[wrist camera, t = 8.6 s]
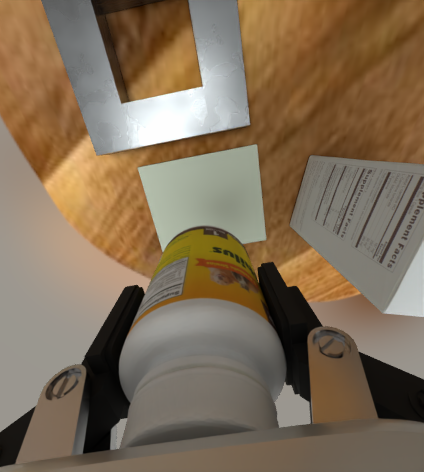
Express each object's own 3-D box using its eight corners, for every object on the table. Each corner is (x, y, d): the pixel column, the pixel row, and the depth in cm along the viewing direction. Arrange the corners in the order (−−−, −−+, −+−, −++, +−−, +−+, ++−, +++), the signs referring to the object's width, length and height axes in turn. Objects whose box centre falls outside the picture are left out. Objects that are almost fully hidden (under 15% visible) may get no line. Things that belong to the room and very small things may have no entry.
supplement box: (287, 226, 30) (376, 316, 14) (307, 153, 26) (456, 165, 11) (355, 235, 30) (512, 330, 15) (383, 165, 27) (628, 192, 11)
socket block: (222, -78, 19) (224, -116, 16) (245, 127, 25) (250, 124, 22) (45, -34, 20) (18, -64, 17) (108, 154, 26) (96, 155, 23)
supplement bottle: (263, 269, 15) (361, 484, 5) (196, 309, 16) (182, 545, 7) (215, 203, 13) (238, 350, 4) (144, 252, 14) (20, 464, 5)
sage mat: (256, 144, 26) (256, 144, 25) (265, 238, 30) (266, 239, 30) (138, 167, 26) (137, 167, 26) (165, 255, 31) (164, 257, 30)
